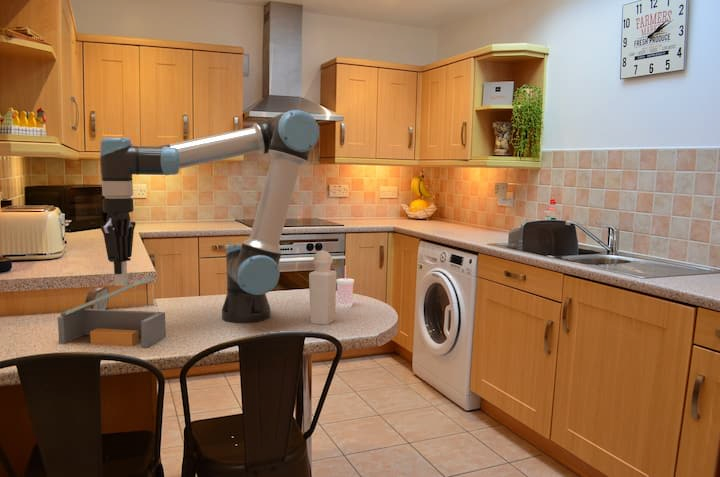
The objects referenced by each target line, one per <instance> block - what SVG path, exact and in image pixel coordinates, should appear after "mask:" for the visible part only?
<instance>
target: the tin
mask: <svg viewBox="0 0 720 477" xmlns="http://www.w3.org/2000/svg"><path fill="white" fill-rule="evenodd" d="M109 293H110V292H109V288H108V287H107V286H103V285H101V286H100V285H97V286H95V287H94V288H92V289H89V290H88V292H87V294H86V297H85V302H84V304H85V303H88V302H90V301H92V300H95V299H97V298H99V297H102V296H104V295H106V294H109ZM109 302H110V300H109V298H107V299H105V300H102V301H100V302H98V303H95V304H93V305H91V306H88V307H87V308H86V309H103V310H108V306H109Z"/></svg>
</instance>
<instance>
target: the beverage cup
mask: <svg viewBox="0 0 720 477" xmlns="http://www.w3.org/2000/svg"><path fill="white" fill-rule="evenodd" d="M354 283H355V279H354V278H347V265H346V264H345V265H344V278H343V277H342V278H341V277H340V278H336V289H337V304H338V305H339V306H345V307H344V308H348V307H347V306H351V305H352V306H353V296H354V295H353V292H354V291H353V290H354ZM338 305H337V306H338ZM339 306H338V307H339ZM352 306H351V307H352Z"/></svg>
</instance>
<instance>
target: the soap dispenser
mask: <svg viewBox="0 0 720 477" xmlns="http://www.w3.org/2000/svg"><path fill="white" fill-rule="evenodd" d="M312 264H314V267H315V270H313V271H311V272H309V274H308V284H309V286H308V287H309V288H308V289H309V304H310V305H309V307H310V308H309V309H310V323H311V324H314V325H315V324H318V325H323V326H324V325H325V326H328V325H330V324H332V323H333V322H334V321H335V318H336V317H335V316H336V292H337V283H336V282H337V281H336V280H337V274H338V273H337V271H336V270H335V269H334V270H333V269H332V270H331V265H332V264H333V258H332V255H331V253H330V252H328V251H327V250H319V251H317V252H316V253H315V254H314V257H313V260H312Z"/></svg>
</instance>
